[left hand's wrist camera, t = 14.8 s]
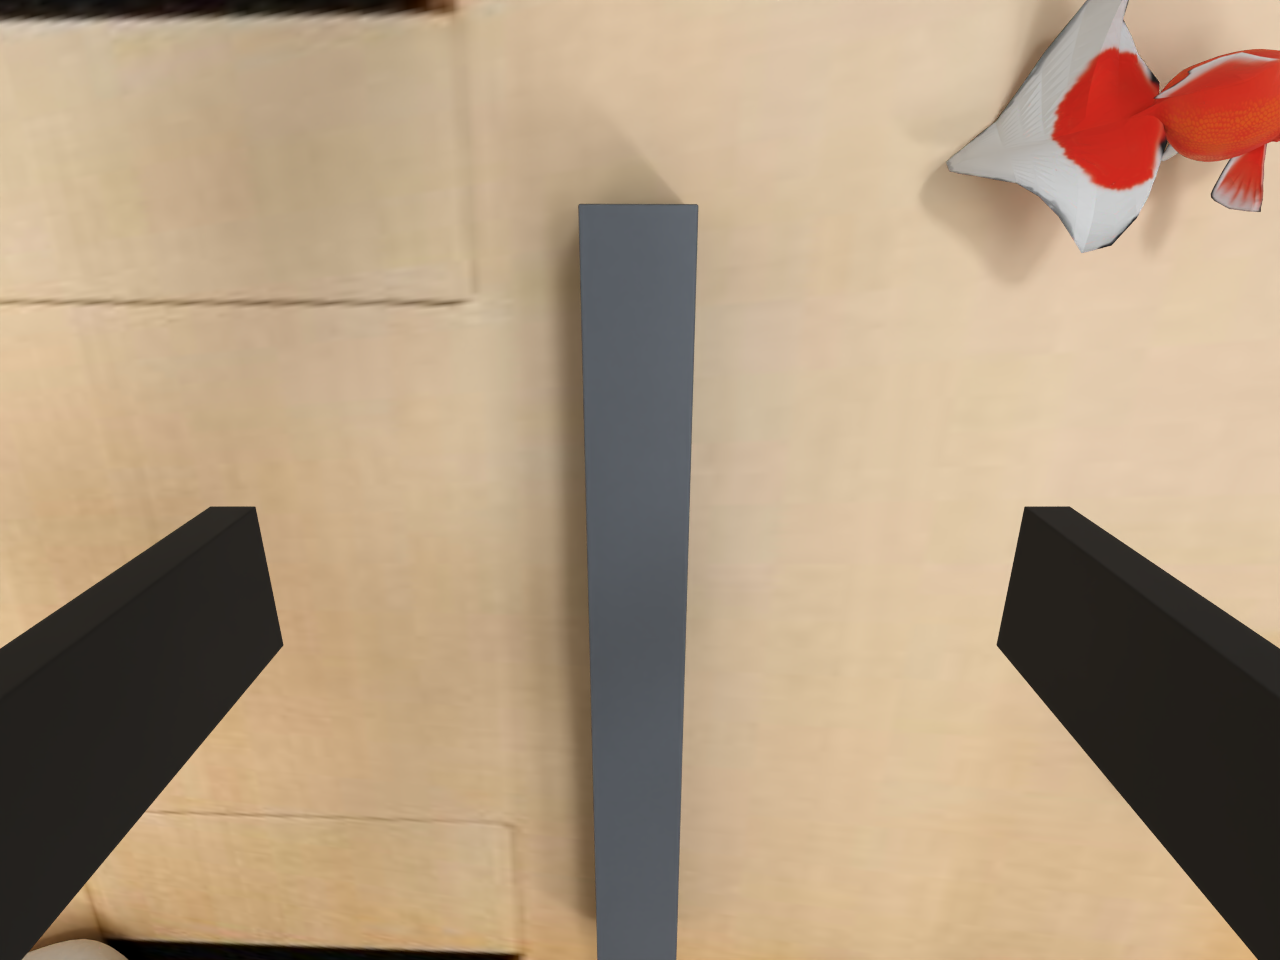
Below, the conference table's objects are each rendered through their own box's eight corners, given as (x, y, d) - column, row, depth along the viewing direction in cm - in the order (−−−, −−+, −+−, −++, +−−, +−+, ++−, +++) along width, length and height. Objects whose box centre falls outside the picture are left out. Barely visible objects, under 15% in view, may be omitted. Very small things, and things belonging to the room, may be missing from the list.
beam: (590, 206, 37) (578, 203, 30) (687, 206, 37) (698, 204, 30) (604, 924, 55) (599, 1030, 47) (669, 924, 55) (674, 1031, 47)
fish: (1278, 302, 34) (1410, 218, 24) (929, 273, 40) (929, 196, 30) (1330, 77, 34) (1483, -93, 24) (971, 81, 39) (984, -54, 30)
